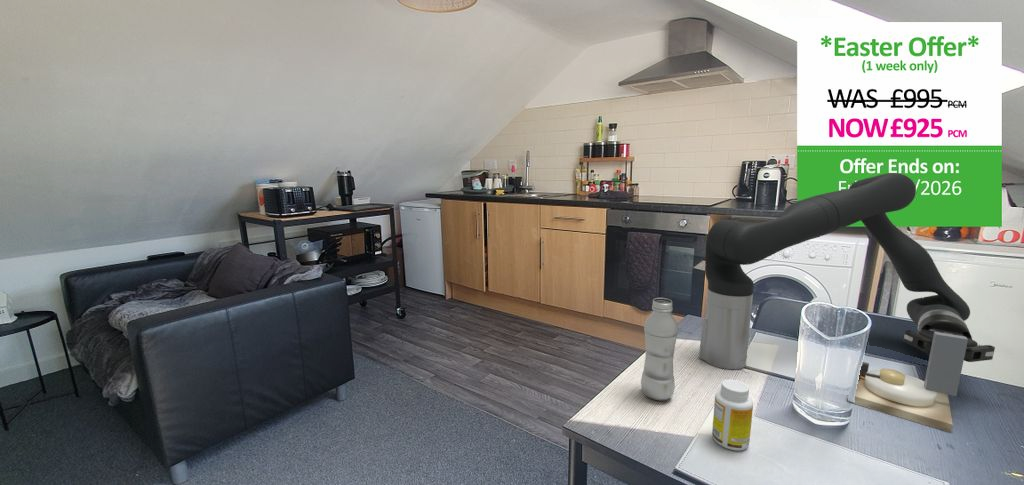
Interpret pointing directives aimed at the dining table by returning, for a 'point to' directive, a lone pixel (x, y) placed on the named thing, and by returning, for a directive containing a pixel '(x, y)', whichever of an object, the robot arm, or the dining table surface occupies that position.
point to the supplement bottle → (732, 415)
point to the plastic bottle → (659, 351)
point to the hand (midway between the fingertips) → (951, 359)
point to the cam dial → (938, 376)
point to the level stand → (906, 406)
